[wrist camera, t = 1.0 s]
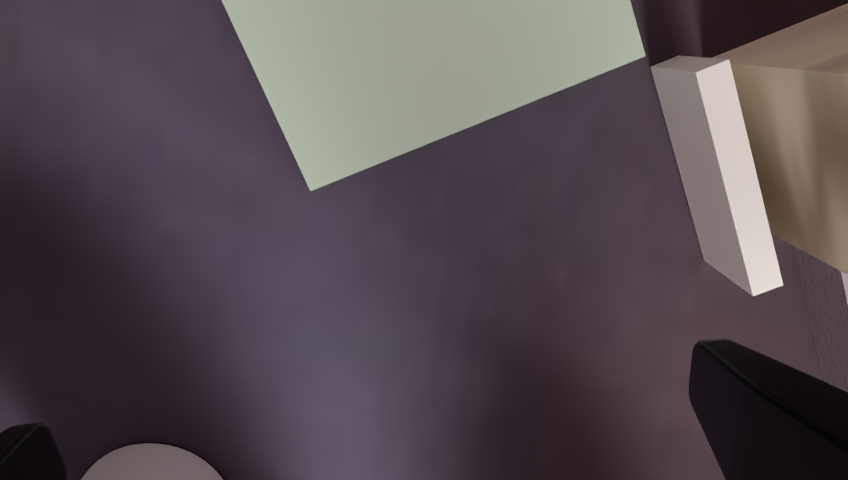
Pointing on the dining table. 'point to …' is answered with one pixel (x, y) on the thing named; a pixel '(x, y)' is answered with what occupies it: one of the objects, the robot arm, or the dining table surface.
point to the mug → (151, 464)
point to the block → (800, 130)
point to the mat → (417, 67)
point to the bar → (826, 315)
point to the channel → (718, 169)
